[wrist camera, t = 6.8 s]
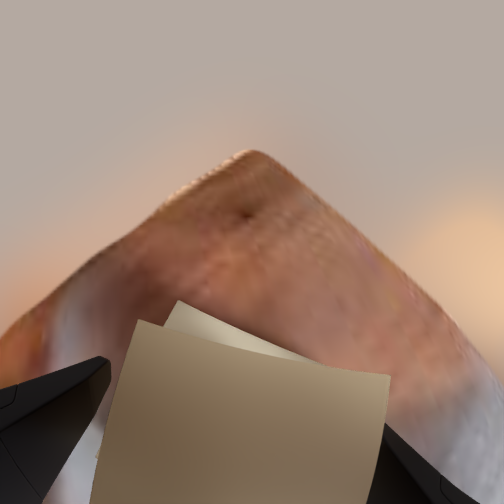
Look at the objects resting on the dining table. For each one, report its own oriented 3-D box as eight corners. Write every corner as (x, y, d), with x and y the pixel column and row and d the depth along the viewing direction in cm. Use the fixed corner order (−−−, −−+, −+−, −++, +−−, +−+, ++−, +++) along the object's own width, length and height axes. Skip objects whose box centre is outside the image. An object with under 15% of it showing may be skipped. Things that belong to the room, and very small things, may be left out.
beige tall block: (256, 473, 13) (335, 581, 2) (172, 453, 13) (84, 538, 2) (274, 397, 16) (390, 375, 5) (192, 377, 16) (138, 318, 5)
